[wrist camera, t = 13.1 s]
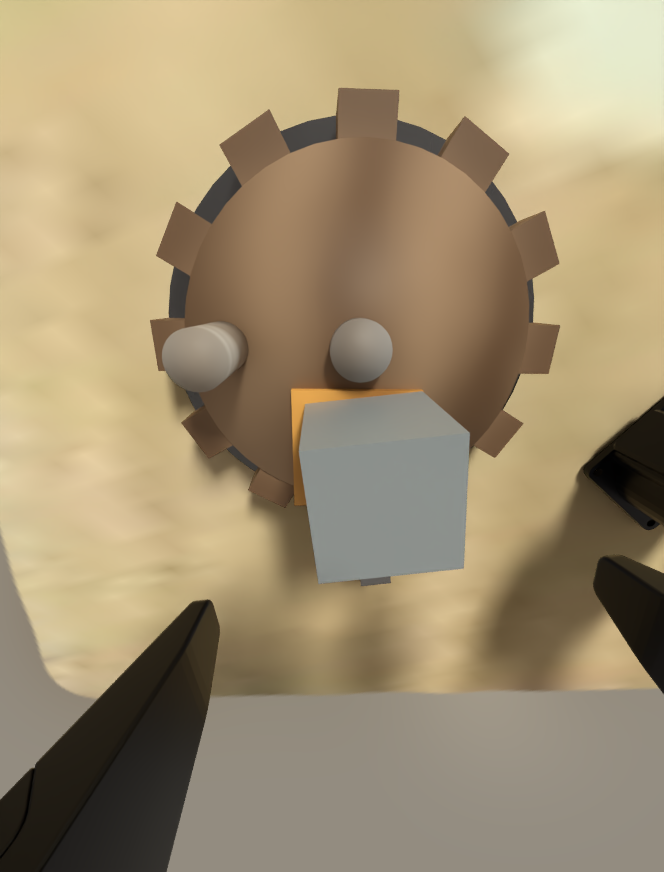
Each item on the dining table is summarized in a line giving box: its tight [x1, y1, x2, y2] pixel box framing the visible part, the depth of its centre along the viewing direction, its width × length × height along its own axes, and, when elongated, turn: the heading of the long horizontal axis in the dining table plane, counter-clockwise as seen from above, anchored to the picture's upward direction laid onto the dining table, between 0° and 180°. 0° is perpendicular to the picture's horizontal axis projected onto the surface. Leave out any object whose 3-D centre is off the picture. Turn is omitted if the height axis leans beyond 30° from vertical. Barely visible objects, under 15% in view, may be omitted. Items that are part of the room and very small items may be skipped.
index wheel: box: [150, 88, 560, 508], centre depth 14 cm, size 17×17×6 cm
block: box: [299, 391, 470, 584], centre depth 13 cm, size 5×5×5 cm
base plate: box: [169, 116, 534, 471], centre depth 17 cm, size 17×17×1 cm
